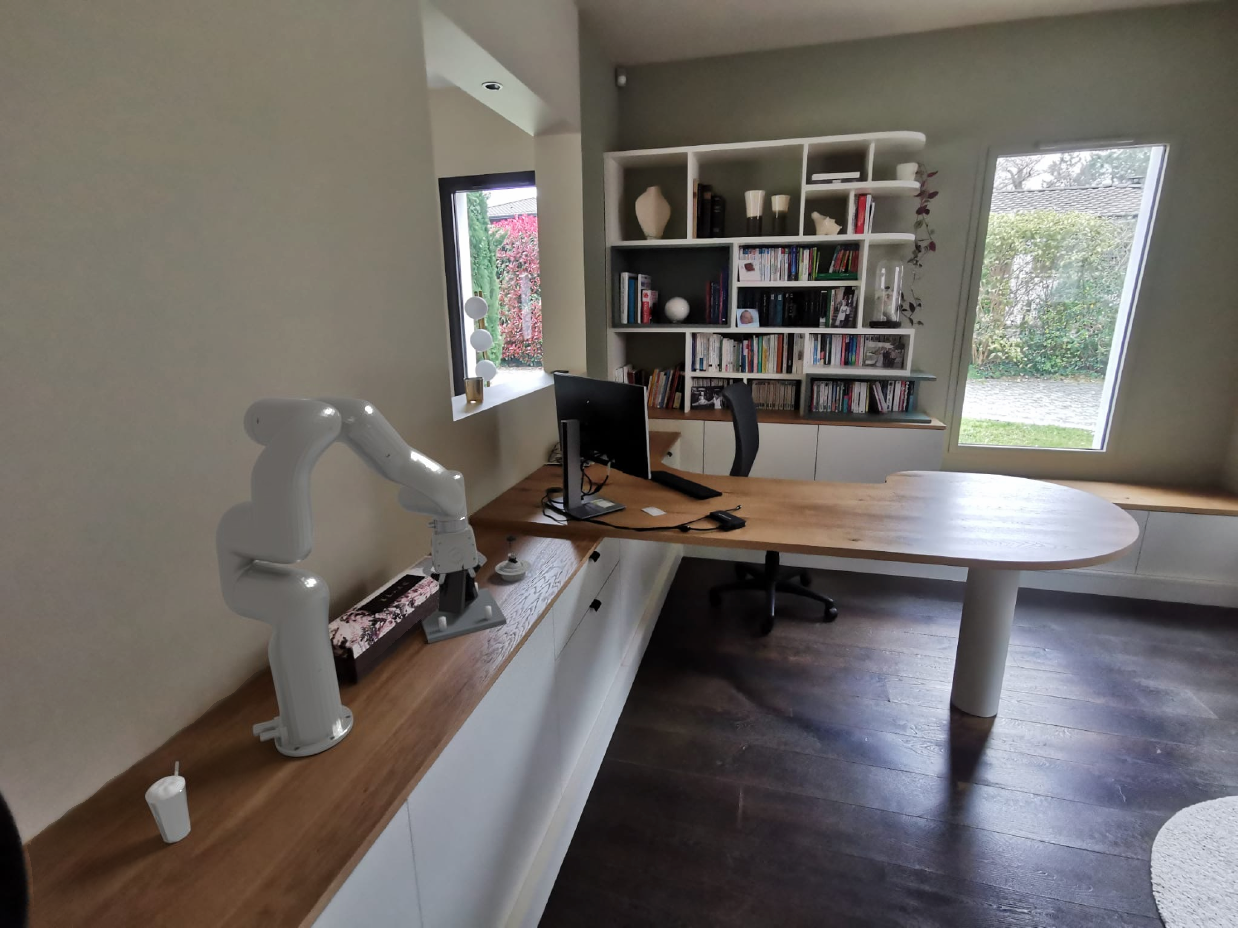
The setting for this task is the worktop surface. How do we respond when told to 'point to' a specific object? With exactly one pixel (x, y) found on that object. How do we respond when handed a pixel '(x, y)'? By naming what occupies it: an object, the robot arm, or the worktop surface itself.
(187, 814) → the milkshake
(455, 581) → the phone stand
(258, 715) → the worktop surface
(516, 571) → the grey spinning top
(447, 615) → the base plate
